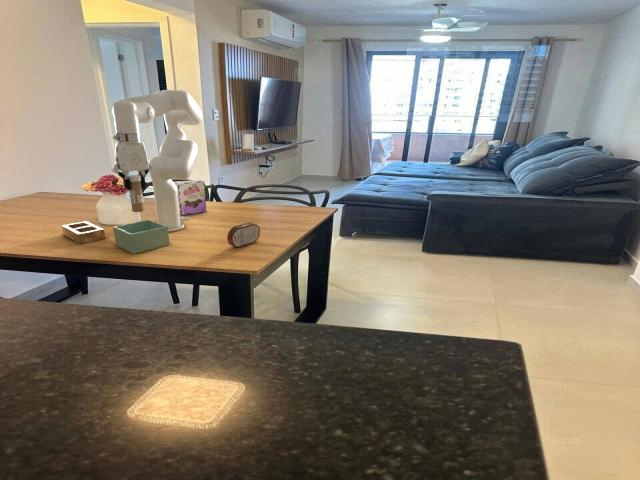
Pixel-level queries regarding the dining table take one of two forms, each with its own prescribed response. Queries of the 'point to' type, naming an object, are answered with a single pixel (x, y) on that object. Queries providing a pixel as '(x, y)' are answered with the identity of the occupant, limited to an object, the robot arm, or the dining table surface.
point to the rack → (83, 232)
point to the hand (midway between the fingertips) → (135, 188)
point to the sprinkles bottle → (136, 193)
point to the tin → (243, 234)
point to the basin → (141, 236)
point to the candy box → (191, 197)
